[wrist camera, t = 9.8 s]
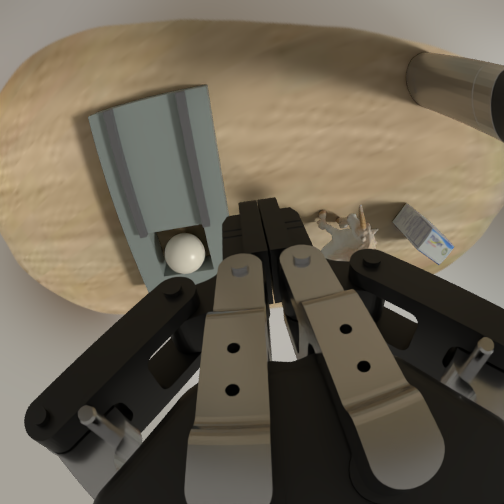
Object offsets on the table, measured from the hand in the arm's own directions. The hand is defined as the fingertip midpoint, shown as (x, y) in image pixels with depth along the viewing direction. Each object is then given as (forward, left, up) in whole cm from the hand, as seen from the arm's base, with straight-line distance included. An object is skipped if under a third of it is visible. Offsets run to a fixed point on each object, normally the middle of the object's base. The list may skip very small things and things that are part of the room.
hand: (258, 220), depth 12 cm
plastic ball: (+10, +19, -26) cm, 33 cm away
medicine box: (-29, +21, -29) cm, 46 cm away
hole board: (+10, +11, -29) cm, 32 cm away
